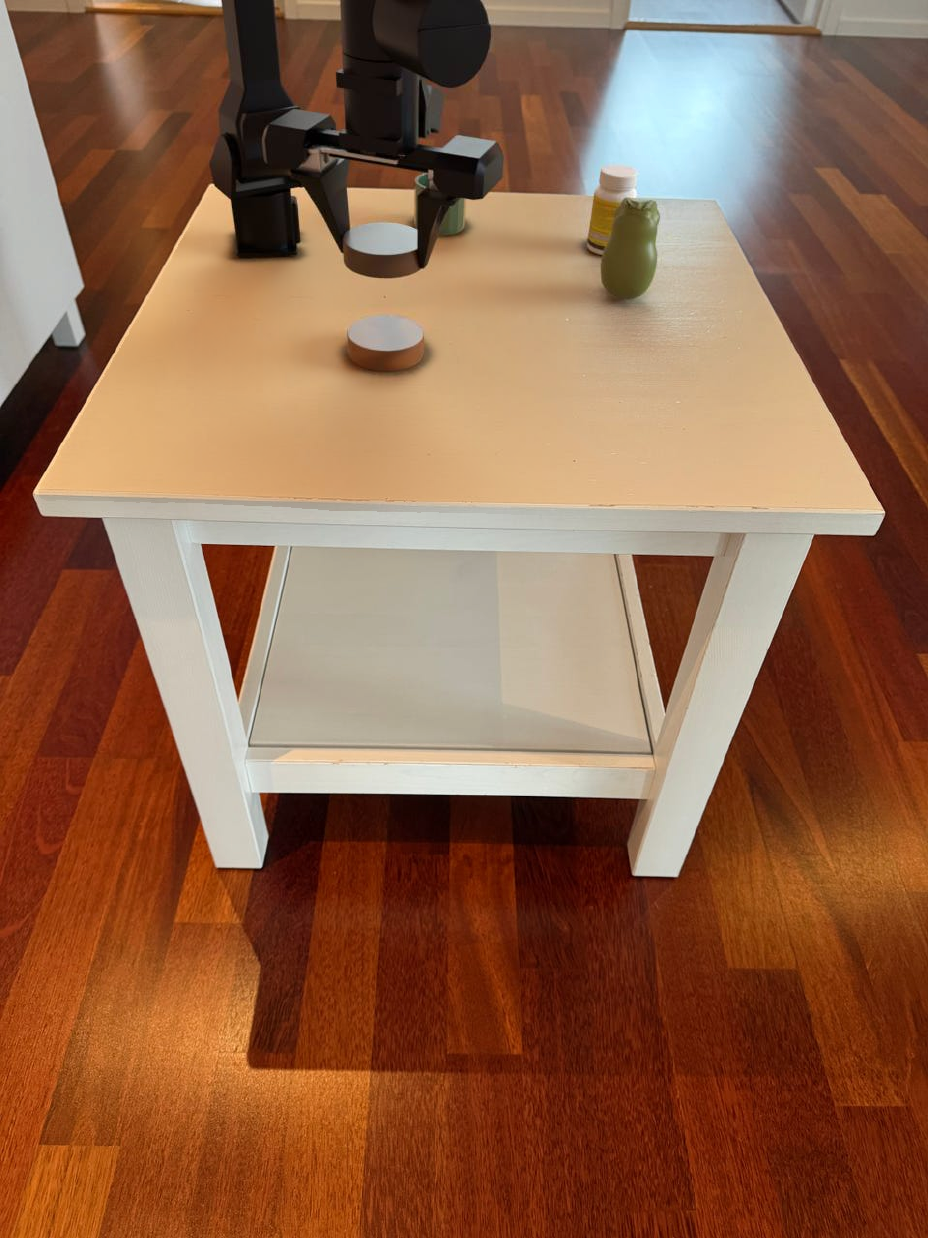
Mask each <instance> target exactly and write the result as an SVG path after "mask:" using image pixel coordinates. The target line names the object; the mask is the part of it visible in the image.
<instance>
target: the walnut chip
mask: <svg viewBox="0 0 928 1238" xmlns="http://www.w3.org/2000/svg"><path fill="white" fill-rule="evenodd" d="M342 254H343V263H344V266H345V267H346V268H347V269H348V270H350V271H351V272H353V273H355V274H357V275H360V276H364V277H367V278H373V279H398V278H403V277H408V276H412V275H413V274H416V273H418V272H419V271H420V270H422V268H419V262H418V255H417V229H416V227H412V226H409V225H406V224H402V223H398V222H397V223H396V222H388V221H387V222H385V221H380V222H379V221H378V222H367V223H362V224H358V225H356V226H353V227H350V229H349V230H348V231H347V232H346V233H345V234H344V235H343V253H342Z"/></svg>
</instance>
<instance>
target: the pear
mask: <svg viewBox="0 0 928 1238" xmlns="http://www.w3.org/2000/svg"><path fill="white" fill-rule="evenodd" d="M660 219H661V214H660V211H659V210H658V204H657V201H655V200H654V199H653V200H652V199H643V198H642V199H641V198H637V199H636V198H635V199H634V198H628V197H625V198H624V199H623V201H622V202H621V204H620V205H619V206H618V207H617V208H616V210H615V212H614V221H613V225H612V230H611V236H610V239H609V241H608V243H607V244H606V246H605V248H604V251H603V254H602V255H601V259H600V279H601V284H602V286H603V288H604V290H605V292H607V293H608V294H609V295H611V296H612V297H614V298H616V299H619V300H624V301H625V300H627V301H628V300H634V299H636V298H639V297H640V296H642V295H643V294H645V293H646V292H647V290H648V289H649V287H650V286H651V284H652V282H653V280H654V277H655V274H656V271H657V265H658V251H657V245H656V242H657V236H658V226H659V223H660Z"/></svg>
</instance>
